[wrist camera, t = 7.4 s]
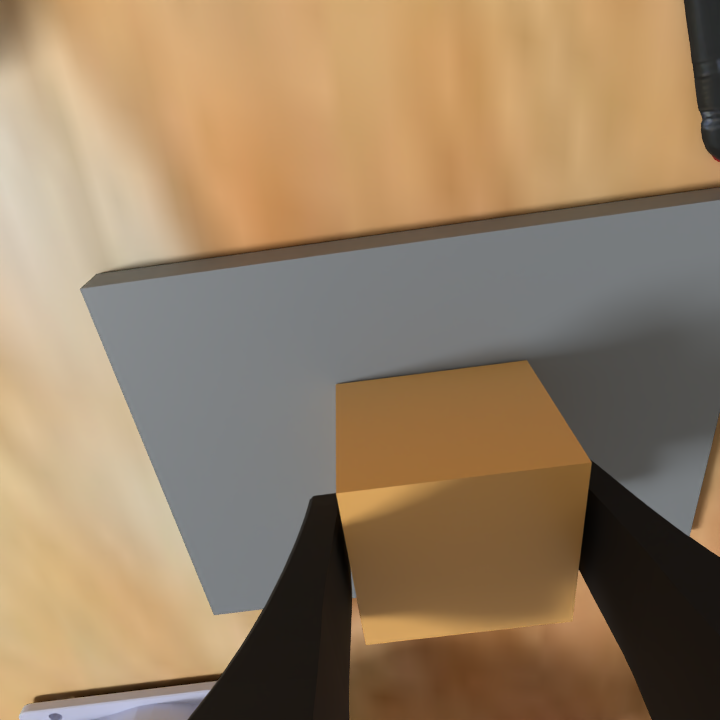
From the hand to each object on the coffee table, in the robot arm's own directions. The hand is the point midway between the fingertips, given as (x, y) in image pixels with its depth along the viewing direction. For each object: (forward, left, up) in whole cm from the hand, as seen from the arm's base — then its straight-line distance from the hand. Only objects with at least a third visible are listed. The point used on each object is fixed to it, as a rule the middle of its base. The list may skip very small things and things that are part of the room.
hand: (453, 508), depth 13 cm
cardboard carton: (0, 0, -2) cm, 2 cm away
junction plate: (0, 0, -3) cm, 3 cm away
